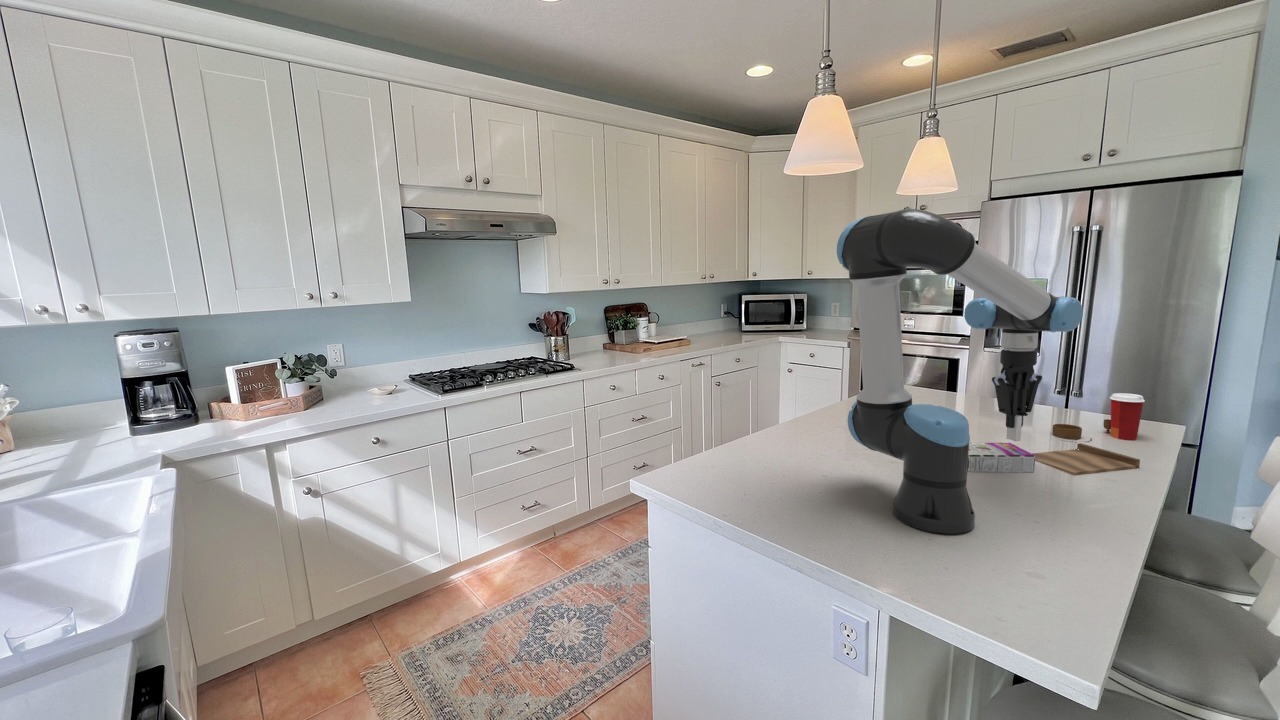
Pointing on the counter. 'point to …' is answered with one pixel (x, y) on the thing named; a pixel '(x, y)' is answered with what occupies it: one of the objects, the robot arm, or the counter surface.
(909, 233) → the robot arm
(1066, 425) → the place setting
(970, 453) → the candy bar box
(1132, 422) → the paper cup
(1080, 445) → the board
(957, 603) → the counter surface
